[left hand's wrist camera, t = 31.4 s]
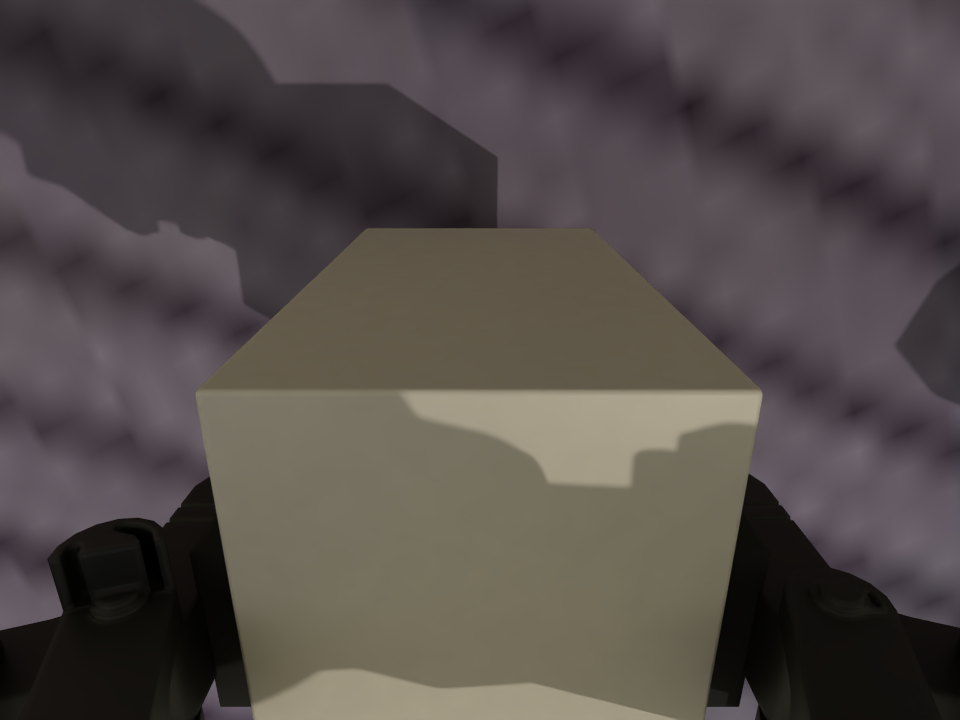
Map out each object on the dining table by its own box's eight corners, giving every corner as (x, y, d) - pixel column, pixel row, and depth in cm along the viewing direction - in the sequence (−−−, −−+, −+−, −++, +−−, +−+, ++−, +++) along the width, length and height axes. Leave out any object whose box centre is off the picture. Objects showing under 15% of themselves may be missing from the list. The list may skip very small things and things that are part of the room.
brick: (592, 227, 16) (766, 390, 6) (575, 482, 19) (679, 869, 9) (365, 227, 16) (190, 390, 6) (382, 483, 19) (277, 869, 9)
